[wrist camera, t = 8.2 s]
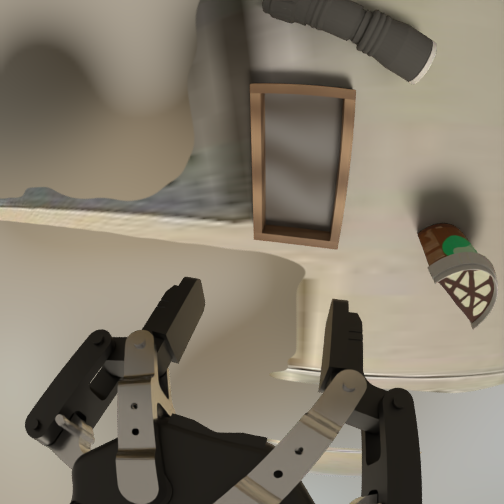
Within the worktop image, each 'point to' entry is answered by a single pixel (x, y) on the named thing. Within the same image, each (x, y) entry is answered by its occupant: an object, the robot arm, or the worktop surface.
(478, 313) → the food container
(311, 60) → the worktop surface
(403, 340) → the worktop surface
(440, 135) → the worktop surface
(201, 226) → the worktop surface
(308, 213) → the open wooden frame
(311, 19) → the flashlight
